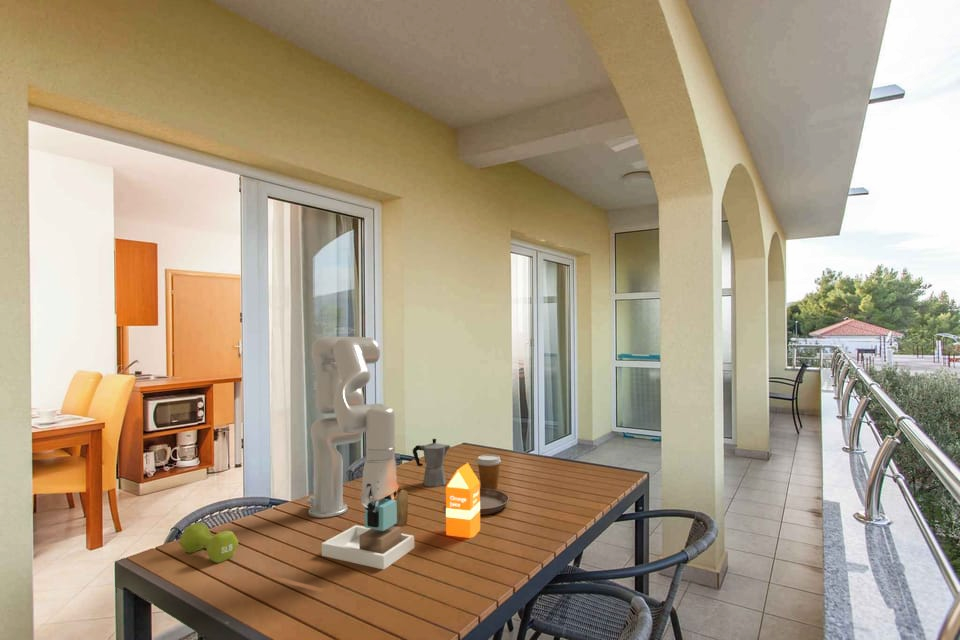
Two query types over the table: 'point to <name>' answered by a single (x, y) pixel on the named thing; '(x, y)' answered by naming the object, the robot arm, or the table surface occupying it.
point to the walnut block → (380, 539)
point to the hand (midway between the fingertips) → (380, 521)
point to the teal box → (385, 514)
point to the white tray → (349, 550)
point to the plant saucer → (492, 501)
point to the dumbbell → (209, 542)
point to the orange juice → (463, 503)
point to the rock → (402, 508)
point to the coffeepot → (433, 463)
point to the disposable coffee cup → (489, 471)
